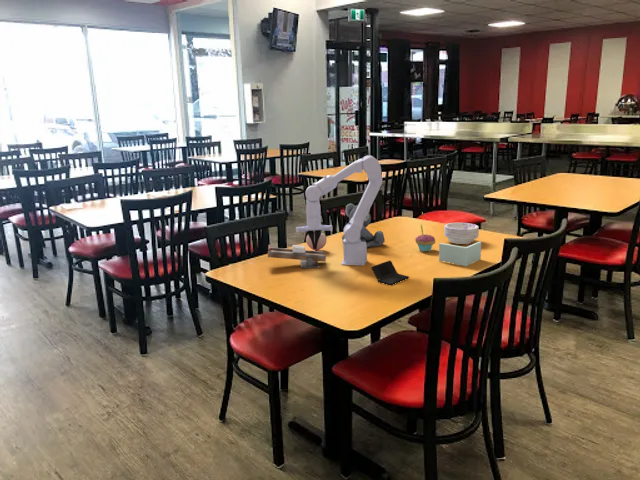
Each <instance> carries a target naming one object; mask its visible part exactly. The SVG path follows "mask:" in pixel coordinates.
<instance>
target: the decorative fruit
mask: <svg viewBox="0 0 640 480" xmlns="http://www.w3.org/2000/svg"><path fill="white" fill-rule="evenodd" d="M305 241H306V245H307V246H308V247H309V248H310V249H311V250H312V251H320V250H321V249H323V248H324V247H325V246H326V244H327V241H328V240H327V236H326V235H325V231H321V235H320V238H319V240H318V244H317V249H313V245H312V241H311V239H310V237H309V235H308V234H307V235H306V239H305ZM314 242H315V235H314Z"/></svg>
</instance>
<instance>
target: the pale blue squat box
mask: <svg viewBox="0 0 640 480" xmlns="http://www.w3.org/2000/svg"><path fill="white" fill-rule="evenodd" d="M438 247H439V248H438V261H439V262H440V261H445V262H450V263H454V264H453V265H455V264H458V265H457V266H460V265H463V266H462V267H465V266H466V267H468V266H470V265H472V264H474V263H473V262H475V261H477V262H478V260H479V261H480V259H481V257H482V241H477V242H475V243H473V244H472V243H471V244H469V245H467V246H461V245H460V246H459V245H456V244H448V243H443V242H442V243H441V242H439V244H438ZM445 262H444V263H445ZM450 263H449V264H450ZM471 263H472V264H471ZM475 263H476V262H475ZM469 264H470V265H469Z"/></svg>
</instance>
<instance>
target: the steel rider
mask: <svg viewBox="0 0 640 480" xmlns="http://www.w3.org/2000/svg"><path fill="white" fill-rule="evenodd" d="M291 249H292V253H298V254H305V250H306V246H305V245H299V244H292V248H291Z"/></svg>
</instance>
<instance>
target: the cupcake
mask: <svg viewBox="0 0 640 480" xmlns="http://www.w3.org/2000/svg"><path fill="white" fill-rule="evenodd" d="M420 231H421V234H419V235H418V236H416V237H415V239H414V240H415V243H416V244H417V247H418V250H419V251H420V252H421V251H429V252H431V251H432V248H433V246H434V245H435V244H436V238H435V237H434V236H432V234H431V235H430V234H424V229H423V225H422V224H420ZM430 250H431V251H430Z"/></svg>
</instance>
